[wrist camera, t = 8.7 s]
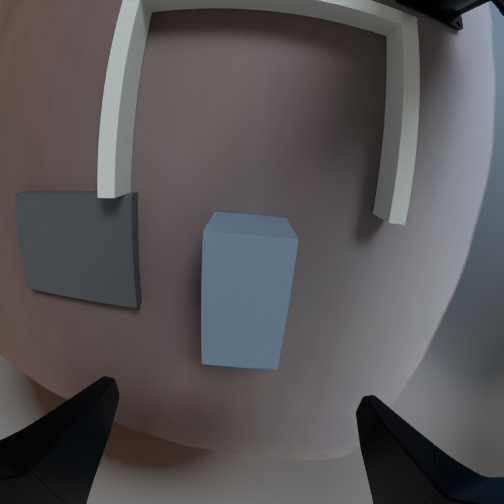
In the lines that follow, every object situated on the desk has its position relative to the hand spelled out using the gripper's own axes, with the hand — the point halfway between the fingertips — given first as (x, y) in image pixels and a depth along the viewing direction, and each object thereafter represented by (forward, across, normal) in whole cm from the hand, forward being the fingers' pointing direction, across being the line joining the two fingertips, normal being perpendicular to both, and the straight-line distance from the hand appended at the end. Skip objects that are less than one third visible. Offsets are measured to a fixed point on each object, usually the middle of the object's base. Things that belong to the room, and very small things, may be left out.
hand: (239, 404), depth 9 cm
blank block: (+11, 0, 0) cm, 11 cm away
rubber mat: (+11, +13, -1) cm, 17 cm away
